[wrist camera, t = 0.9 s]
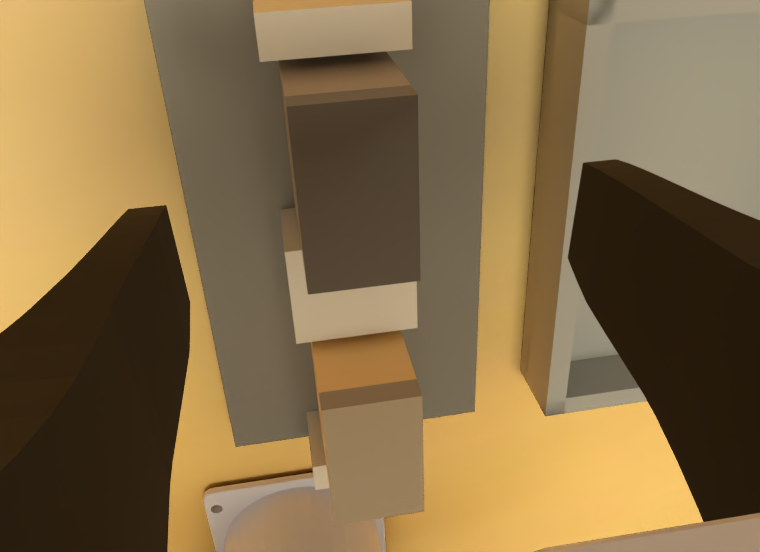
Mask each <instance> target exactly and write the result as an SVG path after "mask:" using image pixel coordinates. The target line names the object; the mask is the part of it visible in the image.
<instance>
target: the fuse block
mask: <svg viewBox="0 0 760 552" xmlns="http://www.w3.org/2000/svg"><path fill="white" fill-rule="evenodd" d="M489 2H490V0H144V3H145V8H146V13H147V17H148V22H149V27H150V32H151V37H152V42H153V47H154V52H155V56H156V61H157V66H158V71H159V76H160V81H161V86H162V91H163V95H164V100H165V105H166V110H167V115H168V120H169V125H170V130H171V134H172V139H173V144H174V149H175V154H176V159H177V164H178V168H179V173H180V178H181V183H182V188H183V193H184V198H185V203H186V207H187V212H188V217H189V222H190V227H191V232H192V237H193V242H194V246H195V251H196V256H197V261H198V266H199V271H200V276H201V280H202V285H203V290H204V295H205V300H206V305H207V310H208V315H209V319H210V324H211V329H212V334H213V339H214V344H215V349H216V354H217V358H218V363H219V368H220V373H221V378H222V383H223V388H224V393H225V397H226V402H227V407H228V412H229V417H230V422H231V427H232V431H233V436H234V441H235V446H236V447H239V446H245V445H252V444H259V443H266V442H272V441H279V440H286V439H293V438H299V437H306V436H309V441H310V450H311V459H312V468H313V475H314V483H315V490H320V489H326V488H329V482H328V475H327V468H326V460H325V453H324V445H323V438H322V430H321V423H320V415H319V408H318V400H317V391H316V383H315V374H314V365H313V357H312V348H311V342H314V341H322V340H330V339H337V338H345V337H352V336H360V335H367V334H375V333H382V332H390V331H398V330H401V333H402V336H403V339H404V342H405V345H406V348H407V351H408V354H409V357H410V360H411V363H412V366H413V369H414V372H415V375H416V378H417V381H418V384H419V388H420V391H421V394H422V408H423V419H428V418H434V417H441V416H448V415H455V414H461V413H468V412H475V386H476V358H477V331H478V304H479V276H480V249H481V221H482V194H483V167H484V139H485V112H486V84H487V57H488V30H489ZM385 51H386V52H387V53H388V55H389V56H390V57H391V59H392V60H393V61H394V63H395V64H396V65H397V67H398V68H399V70H400V71H401V72H402V74H403V75H404V76H405V78H406V79H407V80H408V82H409V83H410V85H411V86H412V87H413V89H414V90H415V91H416V93H417V94H418V134H419V202H420V271H421V281H415V282H407V283H399V284H391V285H383V286H375V287H367V288H359V289H351V290H342V291H334V292H326V293H318V294H310V295H308V292H307V285H306V278H305V271H304V264H303V257H302V250H301V243H300V236H299V229H298V222H297V216H296V209H295V202H294V194H293V185H292V176H291V168H290V159H289V151H288V142H287V133H286V125H285V116H284V108H283V99H282V91H281V82H280V73H279V65H278V60H290V59H302V58H314V57H326V56H338V55H350V54H361V53H373V52H385Z"/></svg>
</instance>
